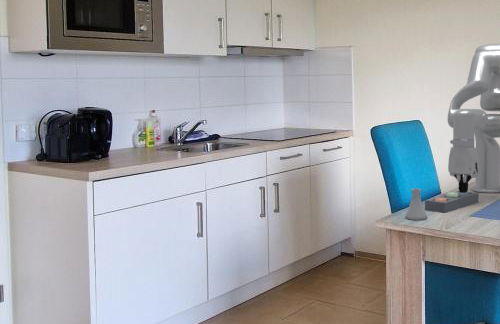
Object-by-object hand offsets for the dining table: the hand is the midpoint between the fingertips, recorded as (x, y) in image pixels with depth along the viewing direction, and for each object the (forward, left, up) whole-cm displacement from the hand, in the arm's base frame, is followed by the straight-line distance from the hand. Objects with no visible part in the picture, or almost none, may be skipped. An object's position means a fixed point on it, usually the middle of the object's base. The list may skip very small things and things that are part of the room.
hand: (463, 192), depth 233 cm
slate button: (0, 0, -3) cm, 3 cm away
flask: (+33, -5, -4) cm, 33 cm away
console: (+8, -1, -4) cm, 9 cm away
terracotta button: (+16, -3, -3) cm, 16 cm away
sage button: (+8, -1, -2) cm, 8 cm away
